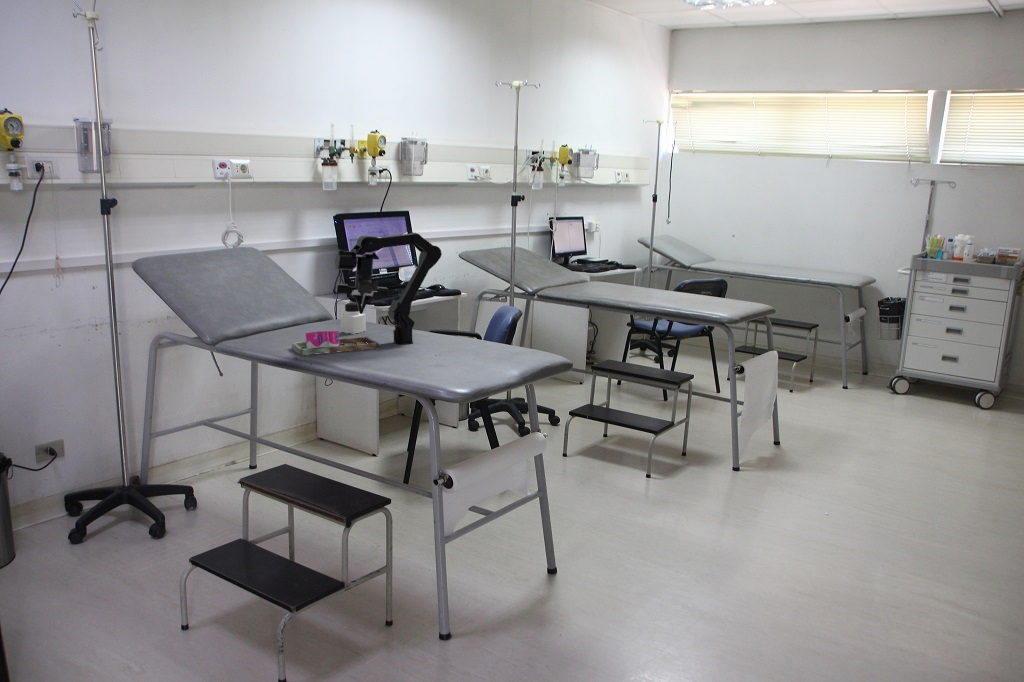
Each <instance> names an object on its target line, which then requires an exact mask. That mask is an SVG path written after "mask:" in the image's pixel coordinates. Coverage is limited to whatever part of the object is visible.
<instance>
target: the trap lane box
mask: <svg viewBox="0 0 1024 682" xmlns="http://www.w3.org/2000/svg"><path fill="white" fill-rule="evenodd" d="M366 342H367V343H368V344H367V343H366ZM342 343H343V344H344V345H346V346H344V345H343V344H342ZM355 343H356V344H358V345H356V344H355ZM339 344H342V345H340V346H337V347H325V348H314V349H307V348H306V349H305V348H302V347H307V343H306V341H298V342H297V341H296V342H291V349H292V350H293V349H294V350H293V351H294V352H296V354H298V355H299V356H300V355H301V356H300V357H304V356H303V355H306V356H310V355H309V354H315V353H325V352H337V351H349V352H351V351H350V350H360V351H362V350H361V349H371V350H377V349H376V348H379V349H380V344H379V342H377V341H375V340H374V339H372V338H371V337H369V336H358V337H346V338H339Z"/></svg>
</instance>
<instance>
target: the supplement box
mask: <svg viewBox="0 0 1024 682" xmlns="http://www.w3.org/2000/svg"><path fill="white" fill-rule="evenodd" d="M339 339H340V336H339V330H327V331H326V330H325V331H324V330H323V331H312V332H306V333H305V342H306V343H307V348H306V349H314V348H325V347H337V346H341V345H340V344H339Z"/></svg>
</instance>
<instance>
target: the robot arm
mask: <svg viewBox="0 0 1024 682" xmlns="http://www.w3.org/2000/svg"><path fill="white" fill-rule="evenodd" d="M407 245H408V246H409V245H412V246H414V248H416V250H418V252H419V256H418V263H417V266H416V267H415V270H414V271H413V273H412V275H411V277H410V279H409V281H408V283H407V285H406V286H405V288H404V290H403V292H402V294H401V296H400V297H399V298H398V299H397V300H395V299H393V300H391V303H390V306H389V307H388V308H387V309H388V312H387V315H388V319H389V320H390V321H392V323H393V326H394V329H393V330H392V331H393V332H392V333H393V334H392V335H393V336H392V337H393V342H394V343H395V345H400V344H403V345H405V344H407V345H408V344H414V341H413V328H414V326H415V321H414V319H412V318H410V317H411V316H410V313H411V308H412V303H413V300H414V299H415V297H416V296H417V294H418V292H419V290H420V288H421V286H422V284H423V283H424V280H425V278H426V276H427V275H428V273H429V271H430V269H432V268H433V267H434V266H435V265H436V264H437V263H438V262H439V260H440V259H441V257H442V254H443V252H442V249H440V247H439V246H437V245H433V244H432V243H431V242H429V241H428V240H427V239H425V238H424V237H422V235H421V234H419V233H416V232H411V233H406V234H405V233H404V234H396V235H395V234H394V235H385V236H374V235H361V236H359V237H358V238H357V241H356V244H355V245H354V246H353V247H352V248H351V250H350V251H349V250H343V249H337V253H336V256H335V259H334V267H335V269H336V270H347V271H353V270H354V268H355V282H354V284H355V285H354V286H349V285H348V284H347V283H337V284H336V285H335V292H336V294H337V293H338V294H348V292H350V293H351V296H352V297H354V298H355V300H356V301H355V302H357V304H358V309H359V313H360V314H364V310H365V308H366V306H367V304H368V302H369V300H370V299H371V298H372V299H373V298H374V294H375V295H376V294H377V295H379V296H380V297H390V293H391V292H390V289H389V288H387V287H385V286H379V280H377V279H373V267H374V260H380V257H379V256H378V254H376V252H377V251H379V250H382V249H384V248H393V247H398V246H407ZM361 294H363V296H362V295H361Z"/></svg>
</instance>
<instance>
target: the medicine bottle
mask: <svg viewBox="0 0 1024 682" xmlns="http://www.w3.org/2000/svg"><path fill="white" fill-rule="evenodd" d="M339 316H340V317H339V318H340V333H341V332H345V333H344V334H348V333H351V334H350V335H356V334H355V333H358V334H361V333H360V332H362V333H364V332H363V331H367V327H366V326H367V325H366V323H367V322H366V314H365V313H362V314H360V313H359V309H358V304H357V301H348V302H346V303H344V314H341V315H339Z"/></svg>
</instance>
